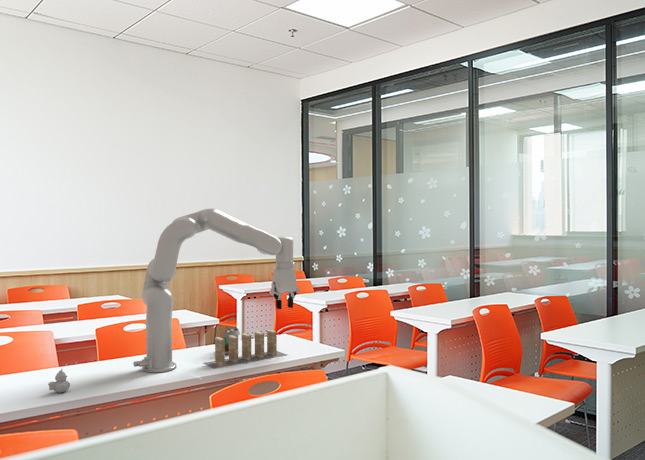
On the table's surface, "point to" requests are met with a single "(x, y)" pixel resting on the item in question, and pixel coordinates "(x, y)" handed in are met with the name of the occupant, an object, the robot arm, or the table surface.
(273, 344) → the domino
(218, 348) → the domino
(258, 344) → the domino
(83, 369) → the table surface
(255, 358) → the domino mat
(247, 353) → the domino
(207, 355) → the table surface
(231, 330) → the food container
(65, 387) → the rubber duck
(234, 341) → the domino
